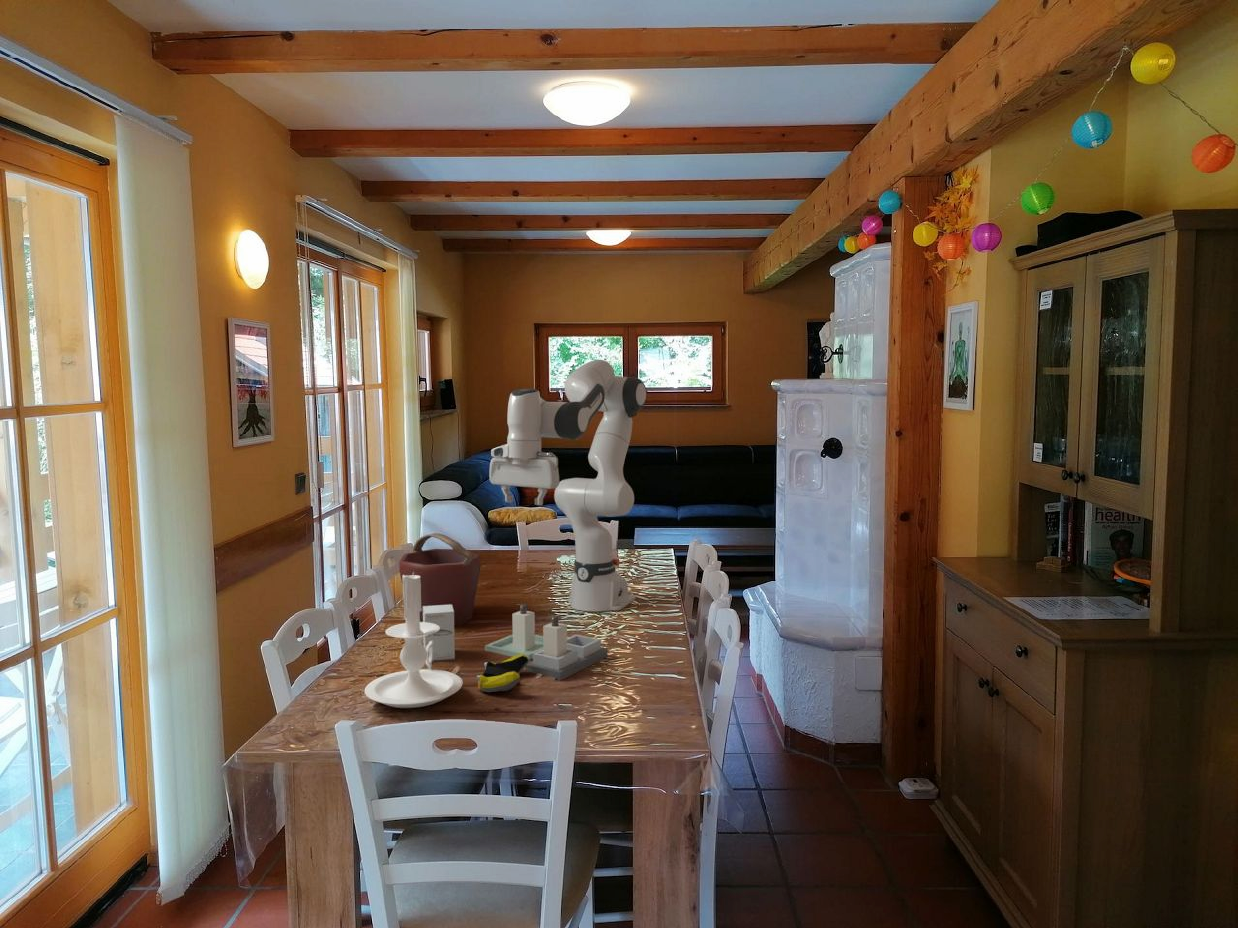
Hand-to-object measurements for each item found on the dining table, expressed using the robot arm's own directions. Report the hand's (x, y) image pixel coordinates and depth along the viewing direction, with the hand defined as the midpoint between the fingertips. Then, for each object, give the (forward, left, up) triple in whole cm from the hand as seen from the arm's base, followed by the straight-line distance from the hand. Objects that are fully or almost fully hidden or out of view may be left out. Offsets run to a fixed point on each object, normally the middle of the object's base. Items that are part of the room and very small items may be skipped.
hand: (523, 503), depth 219 cm
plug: (+7, +5, -36) cm, 37 cm away
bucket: (0, -32, -37) cm, 49 cm away
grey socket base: (+10, +21, -37) cm, 43 cm away
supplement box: (+23, -9, -37) cm, 44 cm away
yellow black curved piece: (+29, +17, -37) cm, 50 cm away
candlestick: (+44, +5, -37) cm, 58 cm away
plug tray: (+7, +5, -37) cm, 38 cm away
